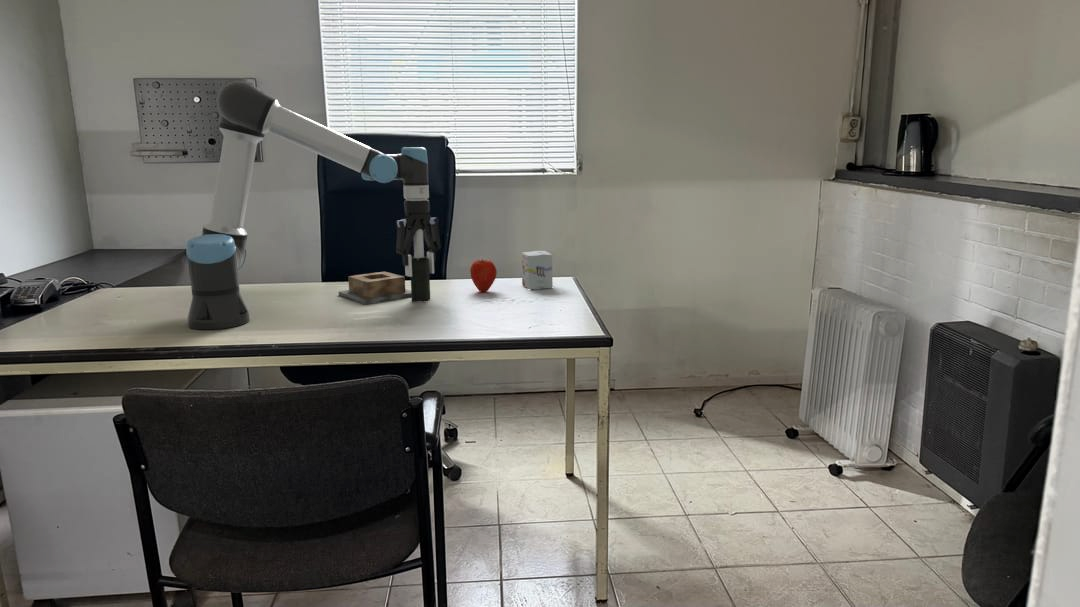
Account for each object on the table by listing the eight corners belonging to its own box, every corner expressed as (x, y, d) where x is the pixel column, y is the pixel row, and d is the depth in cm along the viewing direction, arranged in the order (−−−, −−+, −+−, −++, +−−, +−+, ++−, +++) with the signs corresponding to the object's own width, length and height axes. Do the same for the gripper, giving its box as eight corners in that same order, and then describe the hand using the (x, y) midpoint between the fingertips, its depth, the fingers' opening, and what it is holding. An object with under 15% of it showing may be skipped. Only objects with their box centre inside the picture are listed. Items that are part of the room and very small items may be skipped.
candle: (431, 298, 215) (427, 218, 209) (427, 301, 210) (423, 220, 204) (415, 298, 215) (411, 218, 210) (410, 301, 210) (406, 220, 205)
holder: (364, 304, 207) (363, 284, 205) (338, 295, 220) (337, 276, 219) (416, 295, 218) (415, 276, 217) (388, 287, 232) (387, 269, 230)
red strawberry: (498, 289, 228) (498, 257, 226) (494, 294, 220) (493, 261, 218) (473, 288, 229) (472, 256, 227) (468, 294, 221) (467, 261, 218)
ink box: (521, 285, 234) (521, 251, 232) (545, 283, 237) (545, 250, 234) (528, 290, 226) (528, 254, 224) (553, 288, 229) (553, 253, 226)
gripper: (393, 202, 197) (397, 280, 202) (451, 198, 209) (454, 272, 215) (380, 200, 202) (384, 276, 207) (438, 197, 215) (440, 269, 220)
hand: (420, 274), depth 211 cm, fingers open, 7 cm apart
